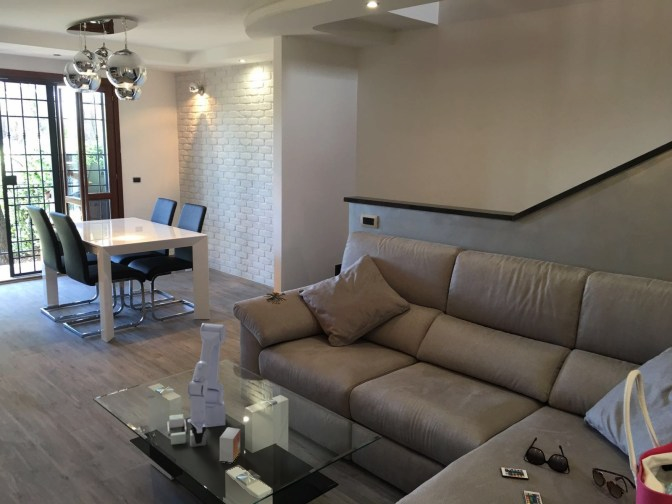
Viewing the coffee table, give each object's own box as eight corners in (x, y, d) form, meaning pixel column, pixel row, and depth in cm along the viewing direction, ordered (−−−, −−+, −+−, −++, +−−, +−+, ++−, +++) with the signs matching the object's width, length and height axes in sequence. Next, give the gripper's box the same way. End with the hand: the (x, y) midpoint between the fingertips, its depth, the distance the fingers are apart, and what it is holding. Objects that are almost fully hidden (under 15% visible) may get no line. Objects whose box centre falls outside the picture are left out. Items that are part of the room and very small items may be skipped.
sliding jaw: (183, 422, 241) (182, 414, 240) (183, 426, 238) (183, 418, 237) (169, 424, 239) (169, 415, 239) (169, 428, 236) (169, 419, 235)
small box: (233, 464, 214) (233, 439, 212) (219, 462, 215) (219, 437, 213) (240, 452, 222) (240, 428, 219) (227, 450, 223) (227, 426, 220)
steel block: (189, 441, 228) (189, 430, 226) (205, 439, 229) (205, 428, 228) (190, 446, 224) (190, 435, 223) (206, 444, 226) (206, 433, 225)
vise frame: (185, 422, 242) (185, 413, 241) (188, 442, 227) (187, 433, 226) (167, 424, 239) (167, 415, 238) (168, 444, 224) (168, 435, 223)
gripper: (186, 401, 229) (186, 431, 232) (188, 419, 215) (189, 451, 218) (203, 399, 231) (203, 429, 234) (207, 417, 218) (207, 448, 221)
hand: (197, 440), depth 226 cm, fingers closed on steel block, 4 cm apart
